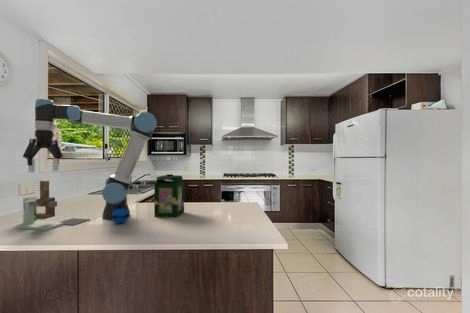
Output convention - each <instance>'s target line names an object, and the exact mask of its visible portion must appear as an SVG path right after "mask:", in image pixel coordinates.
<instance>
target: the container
mask: <svg viewBox="0 0 470 313" xmlns="http://www.w3.org/2000/svg"><path fill="white" fill-rule="evenodd" d="M155 180H156V181H155V183H154V196H153V198H154V209H153V210H154V218H155V217H156V218H174V219H175V218H178V217H179V216H181V215H183V214H184V213H185V181H183V176H182V175H174V174H168V173H167V174H165V175H161V176H160V175H159V176H157V177H156V179H155Z"/></svg>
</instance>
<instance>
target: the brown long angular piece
mask: <svg viewBox="0 0 470 313" xmlns="http://www.w3.org/2000/svg"><path fill="white" fill-rule="evenodd" d="M54 201H56V198H55V197H53V196H50V181H49V180H39V198H38V199H36V206H38V208H39V207H41V208H44V207H45V210H44V211H45V212H44V213H43V212H42V213H41V212H38V214H36V219H38V220H46V219H50V218H53V217H55V216H56V207H52V206H46V202H54Z"/></svg>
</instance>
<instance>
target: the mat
mask: <svg viewBox="0 0 470 313" xmlns="http://www.w3.org/2000/svg"><path fill="white" fill-rule="evenodd" d="M90 220H91V219H89V218H88V219H87V218H73V217H71V218H68V219H65V220H62V221H59V222H60V223H64V225H63V226H72V227H73V226H77V225H80V224H83V223H86V222H88V221H89V222H90Z"/></svg>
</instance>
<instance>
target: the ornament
mask: <svg viewBox="0 0 470 313" xmlns="http://www.w3.org/2000/svg"><path fill="white" fill-rule="evenodd" d="M121 207H122V206H121V205H119V208H117V209H115V210H114V211H113V213H112V215H111V218H112V219H111V220H112V221H113V222H114V223H115V224H119V225H120V224H123V223H125V222H126V221H127V220H128V218H129V217H130V216H129V213H128V212H127V210H126V209H124V208H121Z"/></svg>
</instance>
